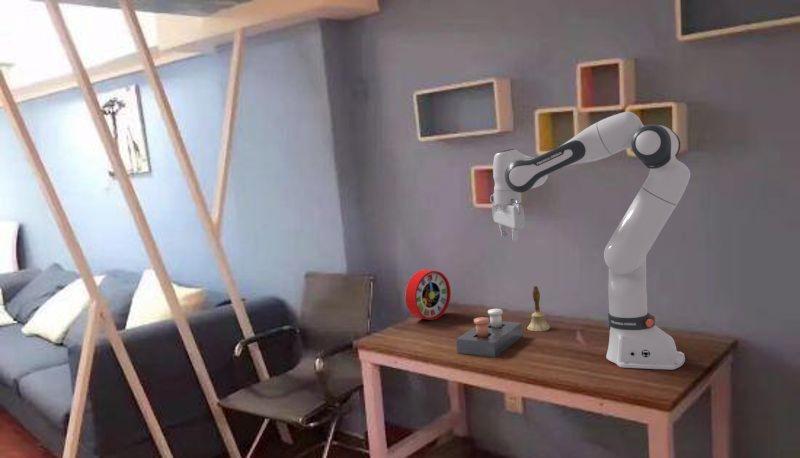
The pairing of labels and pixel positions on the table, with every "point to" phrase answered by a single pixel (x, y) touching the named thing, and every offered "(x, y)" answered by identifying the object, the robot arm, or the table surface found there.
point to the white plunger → (495, 317)
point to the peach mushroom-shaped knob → (482, 326)
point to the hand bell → (537, 315)
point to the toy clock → (428, 294)
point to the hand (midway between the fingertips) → (509, 238)
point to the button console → (489, 340)
